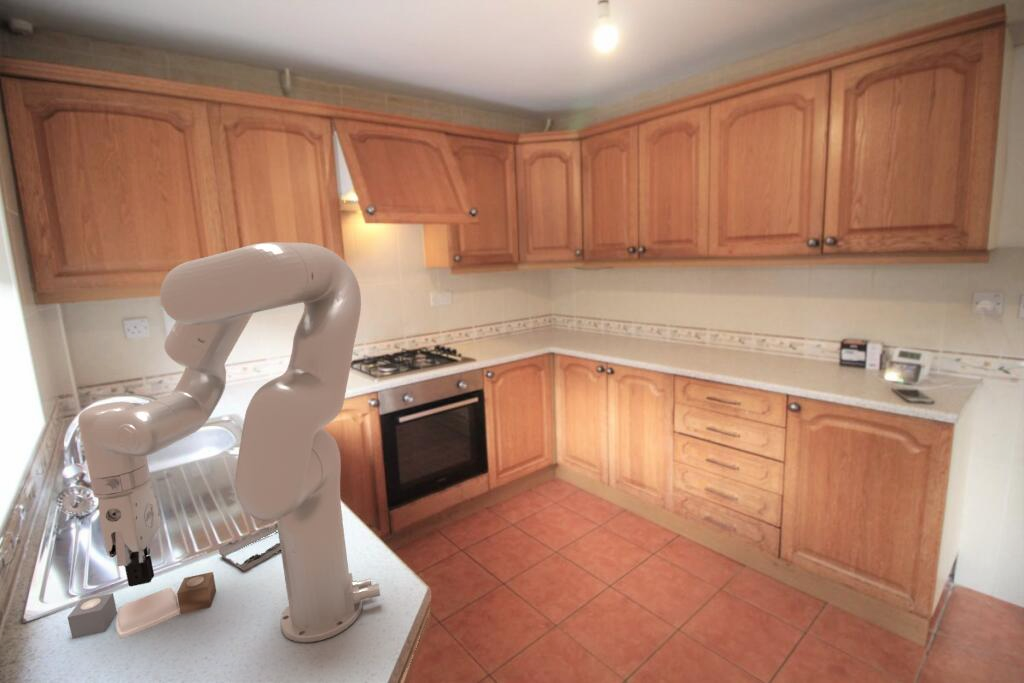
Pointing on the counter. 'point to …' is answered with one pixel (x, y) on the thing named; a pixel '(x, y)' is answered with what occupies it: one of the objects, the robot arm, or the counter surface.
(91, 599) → the slate grey block
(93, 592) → the counter surface
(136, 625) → the soap
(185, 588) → the walnut block
